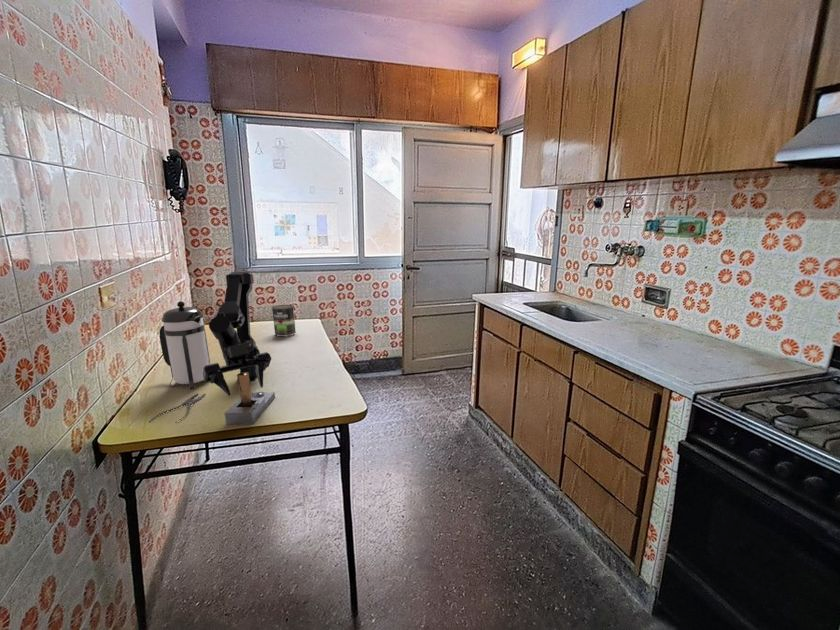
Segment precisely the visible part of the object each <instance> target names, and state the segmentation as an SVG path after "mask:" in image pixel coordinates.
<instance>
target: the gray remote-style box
mask: <svg viewBox="0 0 840 630" xmlns="http://www.w3.org/2000/svg"><path fill="white" fill-rule="evenodd" d="M251 394H252V401H253V406H252V407H241V400H240V397H239V398H238V399H237V400H236V401H235V402H234V403H233V404H232V405H231V406H230V407H229V408H228V409H227V410H226V411H225V412H224V419H225V425H226V426H231V425H232V426H233V425H234V426H235V425H238V426H239V425H254V424H255V423H256V421H257V420H258V419H259V418H260V417H261V415H262V414H263V413H264V412H265V411H266V410H267V408H268V407H269V406H270V404H271V403H272V402H273V401H274V400H275V398H276V395H275V392H273V391H269V392H265V391H258V392H251ZM272 400H273V401H272ZM267 406H268V407H267Z"/></svg>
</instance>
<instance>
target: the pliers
mask: <svg viewBox="0 0 840 630" xmlns="http://www.w3.org/2000/svg"><path fill="white" fill-rule="evenodd" d="M205 396H206V393H203V394H201V395H199V393H195V394H194V395H192V396H191V397H189V398H188V399H185V401H184V402H182V403H181V404H179V405H178V406H174V407H172V408H170V409H167V410H164V411H162V412H161V413H158V414H156V415H154V416H153V417H152V418H151V419H149V421H148V423H152V422H153V421H154V420H156V419H157V418H159V417H160V416H162V415H164V414H163V413H165V414H167V413H168V412H167V411H170V412H172V411H171V410H173V409H176V408H178V409H180V408H179V407H181V406H183V407H185V406H186V408H187V412H186V411H185V414H184V416H182V417H181V418H180V419H178V420H176V421H175V423H176V422H177V421H179V420H181V419H182V418H184V417H185V416H186V415H187V414H188V413H189V414H190V412H189V410H190V411H191V408H192V406H193V405H195V404H196V403H198V402H200V401H201V400H203V399H202V398H205ZM194 398H195V399H194ZM199 400H200V401H199ZM197 401H198V402H197ZM195 402H196V403H195ZM186 404H188V405H186ZM192 404H193V405H192ZM184 405H185V406H184ZM191 405H192V406H191ZM190 407H191V408H190ZM181 408H182V407H181ZM176 410H177V409H176ZM173 411H174V410H173ZM166 412H167V413H166ZM161 414H162V415H161ZM189 414H188V415H189ZM159 415H160V416H159ZM188 415H187V416H188ZM187 416H186V417H187ZM156 417H157V418H156ZM186 417H185V418H186ZM185 418H184V419H185ZM151 421H152V422H151ZM181 421H182V420H181Z"/></svg>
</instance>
